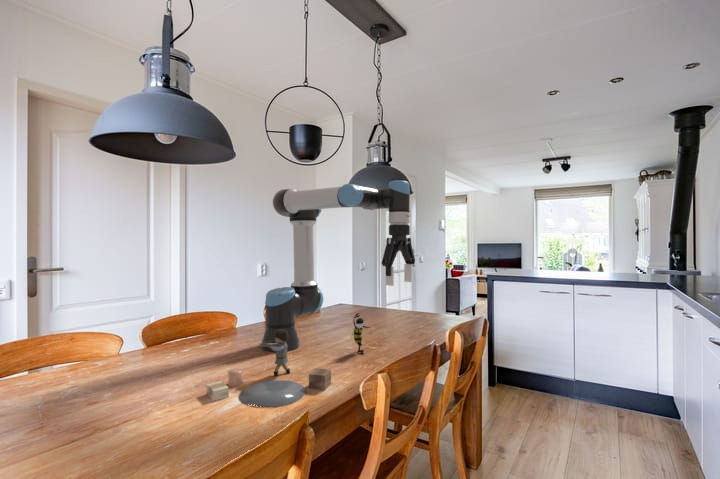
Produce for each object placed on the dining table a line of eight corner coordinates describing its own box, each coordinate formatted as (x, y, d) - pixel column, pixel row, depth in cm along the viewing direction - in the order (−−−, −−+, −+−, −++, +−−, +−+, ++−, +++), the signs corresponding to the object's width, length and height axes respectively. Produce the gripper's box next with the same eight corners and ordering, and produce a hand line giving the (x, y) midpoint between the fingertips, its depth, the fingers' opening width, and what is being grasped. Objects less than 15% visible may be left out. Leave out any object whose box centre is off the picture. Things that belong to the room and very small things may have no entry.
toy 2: (370, 355, 140) (370, 315, 140) (350, 355, 140) (350, 315, 140) (370, 350, 147) (370, 312, 147) (351, 350, 147) (351, 312, 147)
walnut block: (308, 391, 108) (308, 374, 108) (315, 384, 112) (315, 368, 112) (325, 393, 106) (325, 375, 106) (331, 386, 111) (330, 369, 111)
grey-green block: (206, 398, 103) (206, 384, 103) (220, 394, 106) (220, 380, 106) (213, 406, 98) (213, 391, 98) (228, 402, 101) (228, 387, 101)
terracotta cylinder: (225, 388, 110) (225, 371, 110) (237, 384, 113) (237, 367, 113) (233, 391, 107) (233, 374, 107) (245, 387, 111) (245, 370, 111)
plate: (225, 400, 102) (225, 395, 102) (275, 379, 116) (275, 376, 116) (269, 418, 91) (269, 413, 91) (318, 393, 106) (318, 389, 106)
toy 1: (264, 372, 123) (264, 327, 123) (292, 374, 121) (291, 328, 121) (253, 381, 115) (253, 332, 115) (283, 383, 114) (282, 334, 114)
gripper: (390, 222, 121) (390, 288, 121) (423, 225, 141) (423, 280, 141) (371, 223, 125) (371, 286, 125) (406, 225, 145) (406, 279, 146)
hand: (399, 283), depth 133 cm, fingers open, 13 cm apart
